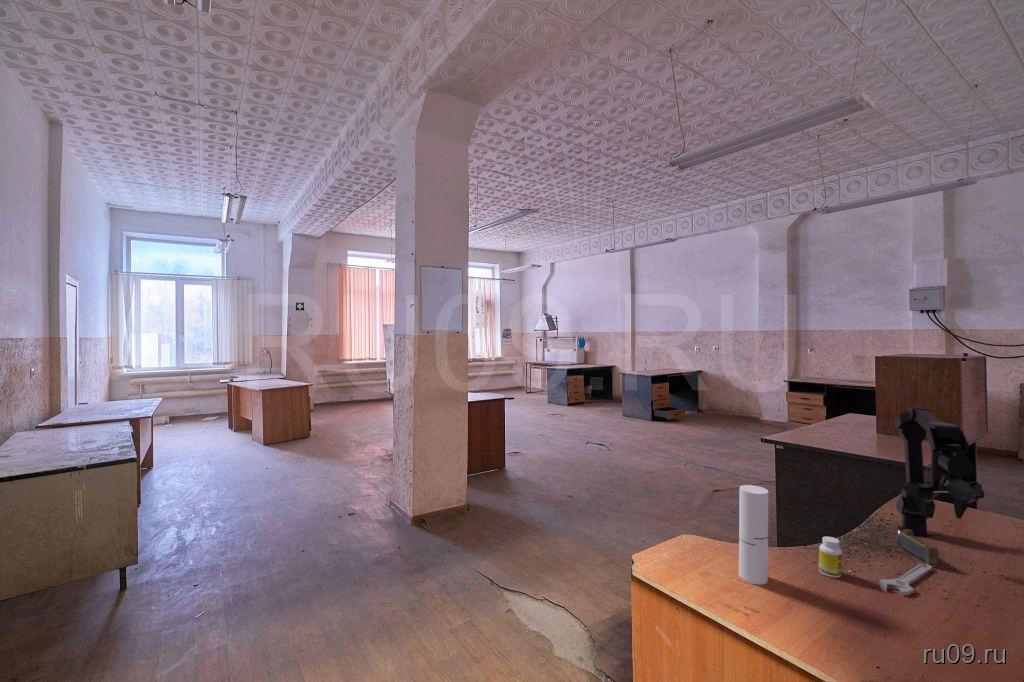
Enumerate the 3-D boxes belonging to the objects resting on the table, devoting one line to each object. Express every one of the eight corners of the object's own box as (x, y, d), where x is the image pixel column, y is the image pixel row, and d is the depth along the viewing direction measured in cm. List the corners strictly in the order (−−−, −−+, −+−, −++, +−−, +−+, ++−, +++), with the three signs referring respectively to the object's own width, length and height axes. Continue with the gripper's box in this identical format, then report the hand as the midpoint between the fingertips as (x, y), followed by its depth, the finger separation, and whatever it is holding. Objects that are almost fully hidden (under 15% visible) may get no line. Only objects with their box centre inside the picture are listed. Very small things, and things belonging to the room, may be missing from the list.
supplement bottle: (841, 580, 127) (842, 545, 127) (818, 574, 130) (818, 540, 130) (842, 572, 131) (842, 538, 131) (819, 566, 135) (819, 533, 135)
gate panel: (896, 544, 147) (896, 529, 147) (901, 544, 147) (901, 529, 147) (924, 561, 136) (924, 545, 136) (930, 561, 136) (930, 545, 136)
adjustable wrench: (921, 567, 135) (921, 561, 135) (949, 577, 129) (949, 571, 129) (875, 588, 124) (875, 581, 124) (904, 600, 118) (904, 593, 118)
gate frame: (900, 545, 148) (901, 528, 148) (910, 546, 147) (910, 529, 147) (927, 566, 134) (928, 548, 134) (938, 567, 134) (938, 549, 134)
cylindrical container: (771, 586, 125) (772, 494, 124) (743, 583, 126) (743, 492, 125) (762, 572, 131) (763, 485, 131) (735, 569, 133) (736, 484, 132)
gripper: (934, 475, 130) (933, 529, 130) (1004, 475, 129) (1002, 530, 129) (903, 463, 141) (901, 513, 141) (966, 463, 140) (965, 514, 140)
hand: (942, 518), depth 138 cm, fingers open, 9 cm apart
